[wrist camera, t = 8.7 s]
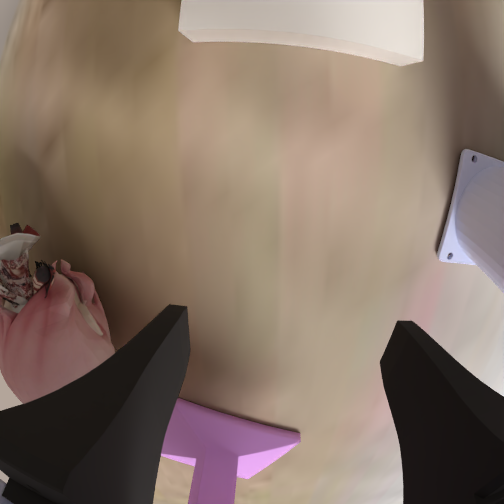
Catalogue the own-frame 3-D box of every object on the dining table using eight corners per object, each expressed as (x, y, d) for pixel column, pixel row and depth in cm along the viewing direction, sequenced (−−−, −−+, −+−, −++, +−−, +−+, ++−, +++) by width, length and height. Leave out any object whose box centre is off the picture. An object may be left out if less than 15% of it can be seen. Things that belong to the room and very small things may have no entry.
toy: (-21, 232, 19) (42, 368, 25) (-92, 281, 9) (14, 447, 15) (86, 191, 21) (142, 349, 27) (27, 228, 11) (139, 441, 17)
